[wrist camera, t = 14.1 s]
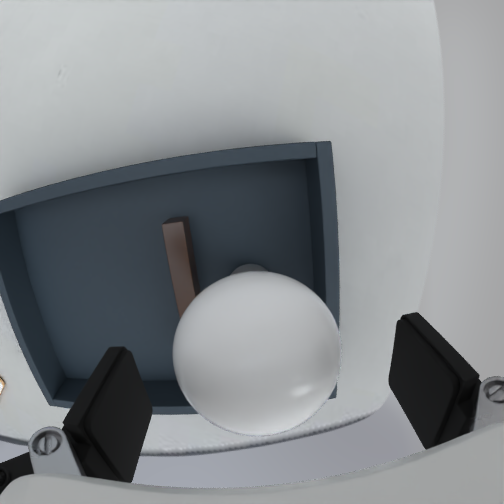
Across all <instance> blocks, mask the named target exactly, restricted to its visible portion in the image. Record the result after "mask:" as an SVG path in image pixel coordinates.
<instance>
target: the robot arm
mask: <svg viewBox="0 0 504 504" xmlns="http://www.w3.org/2000/svg"><path fill="white" fill-rule="evenodd" d="M478 378H479V374H478V373H477V372H476V371H475V370H474V369H473V368H472V367H471V366H470V364H468V363H467V361H466V360H465V359H464V358H463V357H462V356H461V355H460V354H459V353H458V352H457V351H456V350H455V349H454V348H453V347H452V346H451V345H450V344H449V343H448V342H447V341H446V340H445V339H444V338H443V337H442V336H441V335H440V334H439V333H438V332H437V331H436V330H435V329H434V328H433V327H432V326H431V325H430V324H429V323H428V322H427V321H426V320H425V319H424V318H423V317H422V316H421V315H420V314H419V313H417V312H415V313H410V314H405V315H402V317H401V319H400V320H398V321H397V324H396V333H395V340H394V347H393V354H392V361H391V367H390V373H389V386H390V388H391V390H392V391H393V393H394V395H395V397H396V398H397V400H398V402H399V404H400V405H401V407H402V409H403V410H404V412H405V414H406V416H407V418H408V419H409V421H410V423H411V424H412V426H413V428H414V430H415V432H416V434H417V435H418V437H419V439H420V441H421V443H422V444H423V446H424V448H425V449H426V450H424V451H421V452H418V453H415V454H412V455H410V456H407V457H404V458H401V459H398V460H394V461H391V462H388V463H384V464H381V465H377V466H374V467H370V468H366V469H362V470H358V471H354V472H349V473H345V474H340V475H335V476H330V477H326V478H320V479H314V480H308V481H302V482H294V483H287V484H278V485H269V486H257V487H239V488H181V487H164V486H153V485H143V484H134V483H131V482H132V480H133V477H134V473H135V470H136V466H137V463H138V459H139V456H140V452H141V449H142V446H143V442H144V439H145V436H146V433H147V429H148V426H149V423H150V420H151V417H152V413H153V408H152V404H151V402H150V399H149V397H148V394H147V392H146V389H145V387H144V384H143V382H142V379H141V376H140V374H139V371H138V368H137V366H136V363H135V360H134V357H133V354H132V352H131V351H130V350H127V348H126V347H124V346H116V347H109V348H108V349H107V351H106V352H105V354H104V355H103V357H102V359H101V360H100V362H99V363H98V365H97V366H96V368H95V370H94V371H93V373H92V374H91V376H90V378H89V379H88V381H87V382H86V384H85V386H84V387H83V389H82V391H81V392H80V394H79V395H78V397H77V399H76V400H75V402H74V404H73V405H72V407H71V409H70V411H69V412H68V414H67V416H66V417H65V419H64V421H63V424H64V426H63V428H62V430H61V429H60V428H57V427H45V428H42V429H40V430H38V431H37V432H35V433H34V434H33V435H32V437H31V438H30V440H29V443H28V449H29V452H27V453H25V454H22V455H20V456H18V457H15V458H13V459H10V460H8V461H5V462H2V463H0V504H504V377H500V376H494V377H489V378H487V379H485V380H484V381H483V382H481V381H480V380H479V379H478Z"/></svg>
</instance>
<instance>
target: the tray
mask: <svg viewBox="0 0 504 504" xmlns="http://www.w3.org/2000/svg"><path fill="white" fill-rule="evenodd" d="M184 216H188V219H189V225H190V232H191V238H192V245H193V251H194V257H195V263H196V269H197V275H198V280H199V286H200V292H202V291H203V290H204V289H205V288H207V287H208V286H209V285H211V284H213V283H214V282H216V281H218V280H220V279H222V278H224V277H227V276H230V275H231V274H232V272H233V271H234V270H235V269H236V268H238V267H240V266H242V265H245V264H257V265H260V266H262V267H264V268H265V269H266V270H267V271H268V272H274V273H278V274H282V275H285V276H288V277H291V278H293V279H295V280H297V281H299V282H301V283H302V284H304V285H306V286H307V287H308V288H310V289H311V290H312V291H313V292H315V293H316V294H317V295H318V296H319V297H320V298H321V299H322V301H323V302H324V303H325V304H326V306H327V307H328V309H329V310H330V312H331V313H332V315H333V317H334V319H335V321H336V324H337V327H338V330H339V245H338V222H337V205H336V190H335V177H334V165H333V155H332V145H331V141H320V142H303V143H288V144H275V145H264V146H254V147H245V148H236V149H227V150H220V151H212V152H205V153H198V154H191V155H185V156H179V157H173V158H167V159H161V160H156V161H150V162H145V163H140V164H135V165H130V166H125V167H120V168H116V169H111V170H107V171H102V172H98V173H94V174H90V175H86V176H82V177H78V178H74V179H70V180H66V181H63V182H59V183H55V184H52V185H48V186H45V187H41V188H38V189H35V190H31V191H28V192H25V193H22V194H19V195H16V196H13V197H10V198H7V199H4V200H1V201H0V294H1V297H2V300H3V303H4V306H5V309H6V312H7V315H8V318H9V320H10V323H11V326H12V328H13V331H14V333H15V336H16V338H17V340H18V343H19V345H20V348H21V350H22V352H23V354H24V357H25V359H26V361H27V363H28V365H29V367H30V369H31V371H32V374H33V376H34V378H35V380H36V382H37V383H38V385H39V387H40V389H41V391H42V393H43V395H44V397H45V398H46V400H47V402H48V404H49V405H50V406H57V407H63V408H71V407H72V405H73V404H74V402H75V400H76V399H77V397H78V395H79V394H80V392H81V391H82V389H83V387H84V386H85V384H86V382H87V381H88V379H89V378H90V376H91V374H92V373H93V371H94V370H95V368H96V366H97V365H98V363H99V362H100V360H101V359H102V357H103V355H104V354H105V352H106V351H107V349H108V348H109V347H116V346H124V347H126V348H127V350H130V351H131V352H132V354H133V357H134V360H135V363H136V366H137V368H138V371H139V374H140V376H141V379H142V382H143V384H144V387H145V389H146V392H147V394H148V397H149V399H150V402H151V404H152V408H153V413H152V414H160V415H177V414H199V413H198V412H197V411H196V410H195V409H194V408H193V407H192V406H191V405H190V403H189V402H188V401H187V399H186V398H185V396H184V395H183V393H182V391H181V389H180V387H179V384H178V382H177V379H176V376H175V372H174V367H173V358H172V350H173V341H174V336H175V332H176V329H177V326H178V323H179V321H180V317H179V312H178V308H177V303H176V299H175V294H174V289H173V284H172V280H171V275H170V269H169V264H168V259H167V254H166V248H165V242H164V237H163V231H162V224H163V223H164V222H165V221H167V220H168V219H170V218H177V217H184ZM336 392H337V383H336V386H335V388H334V390H333V392H332V394H331V395H330V397H329V398H328V399H332V398H336Z"/></svg>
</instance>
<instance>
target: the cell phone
mask: <svg viewBox="0 0 504 504" xmlns="http://www.w3.org/2000/svg"><path fill="white" fill-rule="evenodd" d="M3 387H4V382H3V380H2V379H1V378H0V394H1V392H2V390H3Z"/></svg>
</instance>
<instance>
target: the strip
mask: <svg viewBox="0 0 504 504" xmlns="http://www.w3.org/2000/svg"><path fill="white" fill-rule="evenodd" d="M162 231H163V237H164V242H165V248H166V254H167V259H168V264H169V269H170V275H171V280H172V284H173V289H174V294H175V299H176V303H177V308H178V312H179V317H180V319H181V317H182V315H183V313H184V311H185V310H186V308H187V307H188V305H189V304H190V303H191V302H192V301H193V299H194V298H195V297H196V296H197V295H198V294H199V293H200V286H199V280H198V275H197V269H196V263H195V257H194V251H193V245H192V238H191V232H190V225H189V219H188V216H184V217H177V218H170V219H168V220H167V221H165V222H164V223H163V224H162Z"/></svg>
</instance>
